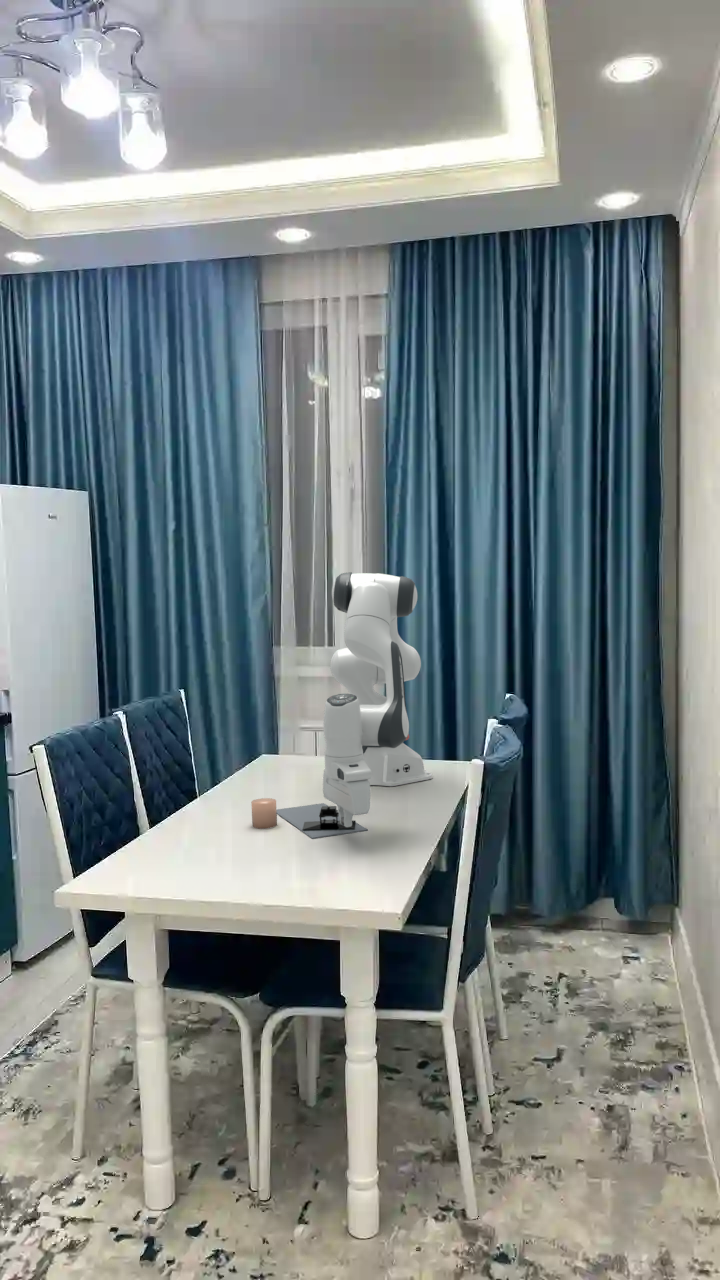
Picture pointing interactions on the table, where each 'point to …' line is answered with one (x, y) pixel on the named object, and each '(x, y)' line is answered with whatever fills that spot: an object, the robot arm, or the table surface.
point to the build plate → (327, 821)
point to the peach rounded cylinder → (264, 813)
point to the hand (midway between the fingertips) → (346, 825)
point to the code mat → (312, 813)
